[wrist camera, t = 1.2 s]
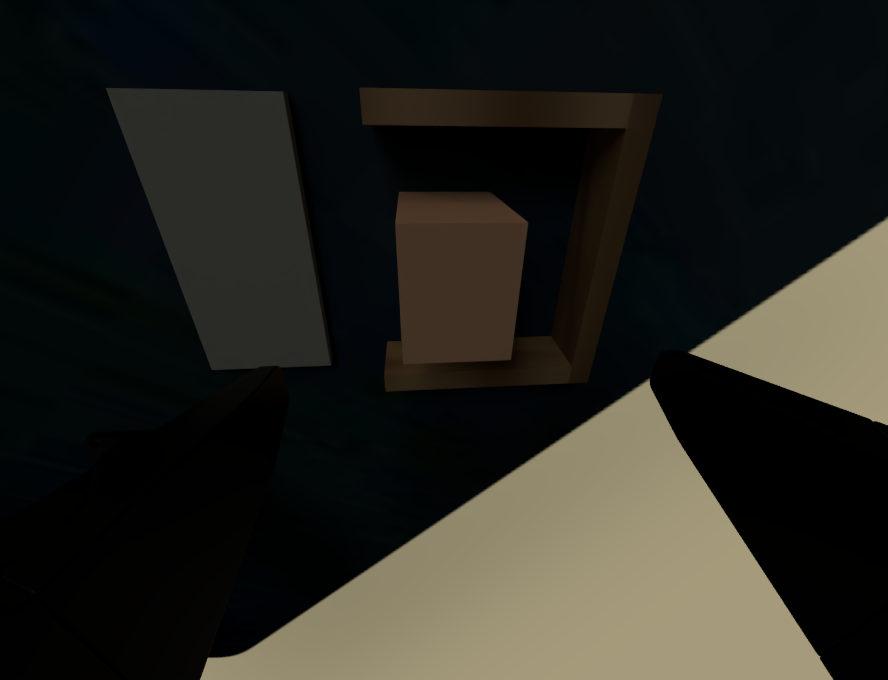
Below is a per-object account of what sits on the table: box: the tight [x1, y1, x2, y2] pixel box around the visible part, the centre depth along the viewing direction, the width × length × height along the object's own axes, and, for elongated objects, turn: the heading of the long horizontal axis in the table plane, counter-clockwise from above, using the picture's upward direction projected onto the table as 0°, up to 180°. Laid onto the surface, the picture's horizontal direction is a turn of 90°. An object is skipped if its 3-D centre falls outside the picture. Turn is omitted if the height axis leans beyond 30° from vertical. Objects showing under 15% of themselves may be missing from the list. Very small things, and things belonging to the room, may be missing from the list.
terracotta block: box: [395, 192, 528, 364], centre depth 15 cm, size 4×5×6 cm
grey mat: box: [106, 88, 333, 370], centre depth 16 cm, size 6×12×1 cm, turn 179°
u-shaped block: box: [360, 88, 663, 391], centre depth 16 cm, size 10×12×3 cm
